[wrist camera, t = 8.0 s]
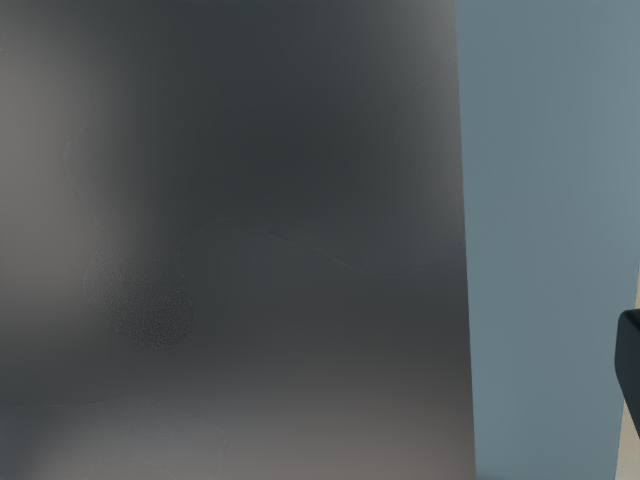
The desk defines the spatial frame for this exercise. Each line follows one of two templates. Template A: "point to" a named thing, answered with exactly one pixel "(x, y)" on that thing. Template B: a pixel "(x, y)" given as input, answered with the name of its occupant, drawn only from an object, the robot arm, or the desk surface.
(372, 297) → the drive
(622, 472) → the desk surface
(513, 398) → the pin cradle
